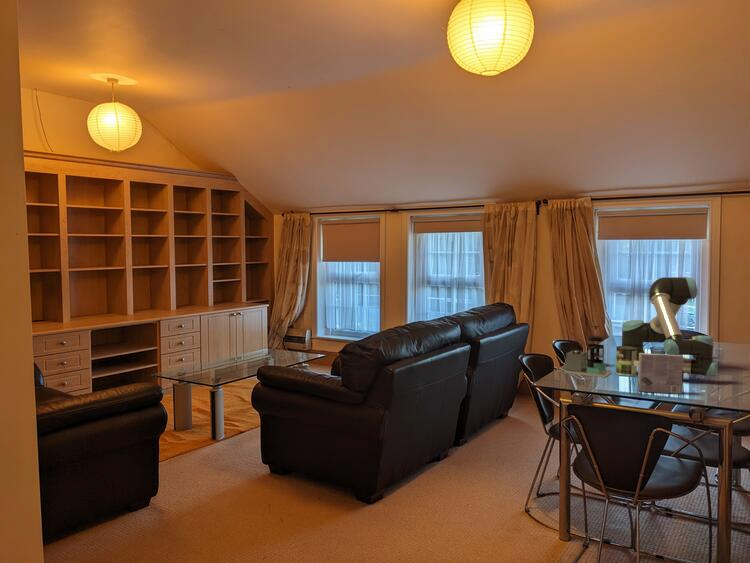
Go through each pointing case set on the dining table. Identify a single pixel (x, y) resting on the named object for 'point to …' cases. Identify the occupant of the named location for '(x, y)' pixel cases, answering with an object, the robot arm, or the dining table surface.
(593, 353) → the french press
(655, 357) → the cake pan box
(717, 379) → the dining table surface
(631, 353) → the coffee can
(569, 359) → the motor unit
